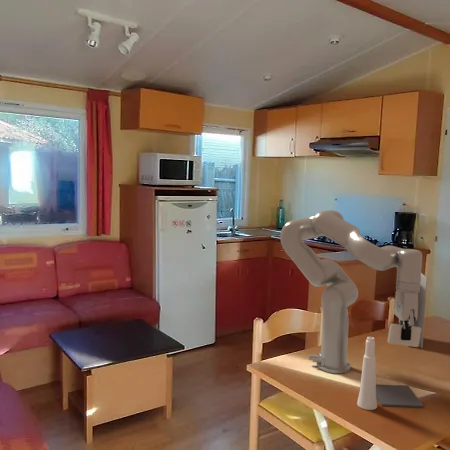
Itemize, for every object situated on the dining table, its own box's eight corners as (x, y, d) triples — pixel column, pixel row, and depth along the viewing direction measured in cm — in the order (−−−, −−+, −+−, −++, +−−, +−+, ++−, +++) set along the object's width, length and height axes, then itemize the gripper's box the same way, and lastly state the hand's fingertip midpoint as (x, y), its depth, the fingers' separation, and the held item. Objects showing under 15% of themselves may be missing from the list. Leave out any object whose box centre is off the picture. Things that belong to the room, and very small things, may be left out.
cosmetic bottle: (381, 407, 145) (385, 339, 142) (368, 412, 141) (372, 342, 139) (365, 399, 150) (369, 333, 147) (353, 403, 146) (356, 336, 144)
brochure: (422, 348, 195) (427, 278, 192) (408, 347, 196) (413, 277, 193) (415, 336, 209) (420, 271, 206) (402, 335, 210) (406, 270, 207)
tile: (388, 343, 157) (391, 325, 156) (386, 341, 159) (389, 323, 158) (418, 347, 157) (421, 328, 156) (416, 344, 159) (419, 326, 158)
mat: (381, 405, 145) (381, 404, 145) (369, 385, 159) (369, 384, 159) (423, 407, 145) (423, 405, 145) (407, 387, 159) (408, 385, 159)
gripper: (389, 280, 164) (386, 330, 166) (405, 291, 148) (401, 347, 150) (410, 280, 163) (407, 331, 165) (428, 292, 148) (424, 347, 150)
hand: (404, 338), depth 158 cm, fingers closed on tile, 1 cm apart
